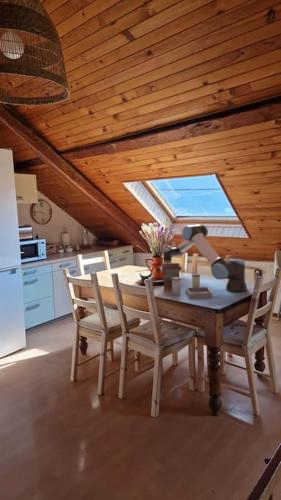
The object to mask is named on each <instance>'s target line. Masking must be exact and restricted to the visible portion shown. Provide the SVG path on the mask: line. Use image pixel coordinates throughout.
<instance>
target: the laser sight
mask: <svg viewBox="0 0 281 500" xmlns="http://www.w3.org/2000/svg"><path fill="white" fill-rule="evenodd" d="M152 275H153V272H151V271H150V274H148V275H142V273H141V272H140V273H139V277H140V281H141V284H143V285H144V280H145V279H150V278H152ZM152 283H153V288H155V283H154V282H153V281H152Z"/></svg>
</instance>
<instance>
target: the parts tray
mask: <svg viewBox="0 0 281 500" xmlns="http://www.w3.org/2000/svg"><path fill="white" fill-rule="evenodd" d="M185 289H186V290H185V293H186V295H187V296H188V299H209V298H210V299H212V298H213V292H212V291H211V289H210V288H209V287H208V286H201V287H192V286H191V287H186V288H185Z"/></svg>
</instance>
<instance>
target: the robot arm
mask: <svg viewBox="0 0 281 500" xmlns="http://www.w3.org/2000/svg"><path fill="white" fill-rule="evenodd" d="M181 234H182V239H183V240H184V241H183V242H181V243H180V244H179V245H177V246H174V247H173V246H171V245H168V246H169V247H168V249H167V250H166V251H165V253H164V263H173V262H172V261H173V260H172V257H175V256H182V255H183V256H184V254H186V251H187V250H189V249H190V248H192V247H193V246H195V247H196V248H197V249H198V251H199V252H200V253H201V255H202V256H203V257H204V259H206V261H207V262H208V263H209V264H210V272H211V275H212V276H213V278H215V279H216V280H226V279H228V280H227V283H226V285H225V286H226V287H225V288H226V289H225V290H226V291H228V292H233V293H244V292H247V291H248V285H247V282H246V279H245V278H246V276H245V275H246V274H245V273H246V272H245V271H246V262H245V260H244V259H238V258H229V259H228V261H226V259H225V258H224V257H220V256H219V254H218V253H217V252H216V250H215V249H214V248H213V247H212V246H211V245H210V244H209V242H208V241H207V240H206V238H207V236H208V234H209V230H208V228H207V226H205V225H204V224H189V225H185V226H184V227H183V228H182V232H181ZM182 269H183V267H182V266H180V265H179V272H180V271H182ZM156 271H157V272H159V273H163V265H160V266H158V267H157V268H156Z"/></svg>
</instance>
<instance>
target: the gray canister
mask: <svg viewBox="0 0 281 500" xmlns="http://www.w3.org/2000/svg"><path fill="white" fill-rule="evenodd" d="M171 292H172V293H171V294H172V296H180V295H181V278H180V277H179V278H178V277H174V278H172V291H171Z"/></svg>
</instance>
